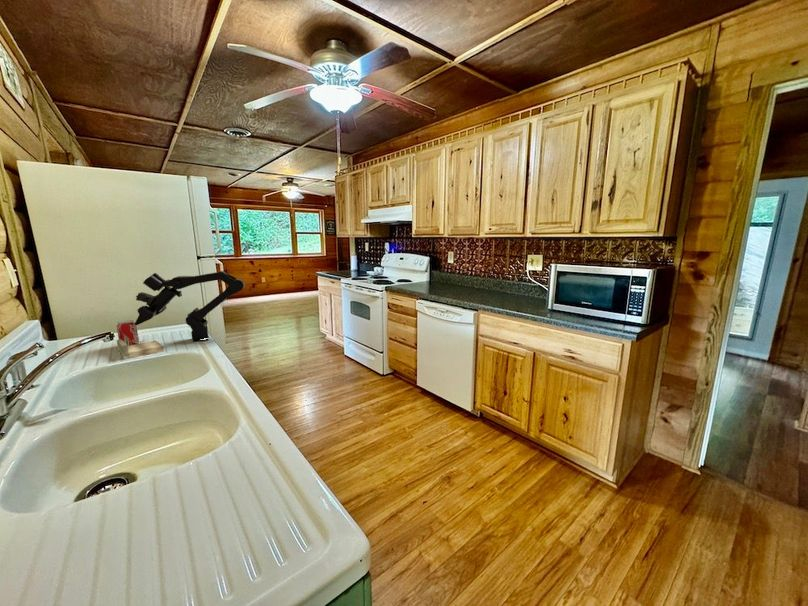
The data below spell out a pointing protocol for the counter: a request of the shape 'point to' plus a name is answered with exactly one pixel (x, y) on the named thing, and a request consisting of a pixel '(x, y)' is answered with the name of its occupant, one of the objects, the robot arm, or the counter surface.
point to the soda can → (128, 332)
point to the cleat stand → (138, 349)
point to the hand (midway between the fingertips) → (139, 322)
